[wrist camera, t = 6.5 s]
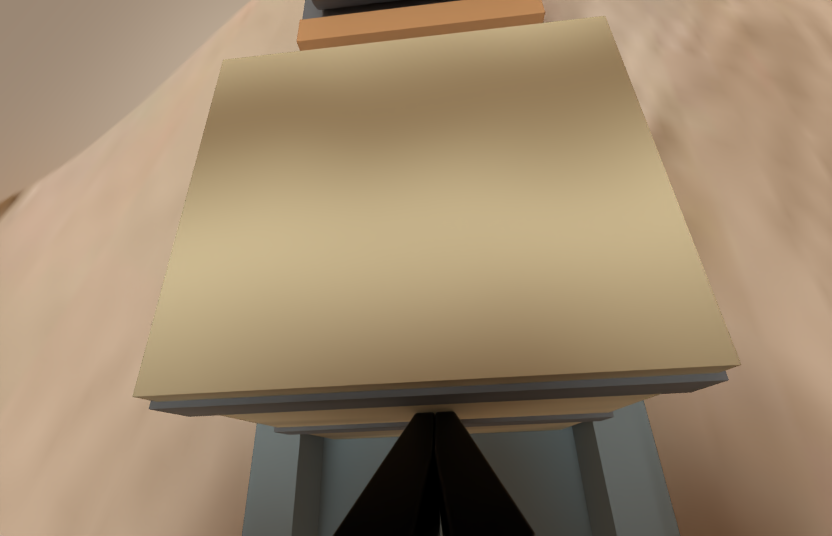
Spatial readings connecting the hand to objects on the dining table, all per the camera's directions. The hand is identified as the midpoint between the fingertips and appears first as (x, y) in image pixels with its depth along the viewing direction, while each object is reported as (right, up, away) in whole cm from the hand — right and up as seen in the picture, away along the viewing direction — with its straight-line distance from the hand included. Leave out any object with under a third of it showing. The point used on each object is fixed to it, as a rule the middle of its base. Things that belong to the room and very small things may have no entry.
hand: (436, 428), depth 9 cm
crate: (+1, +1, +7) cm, 7 cm away
